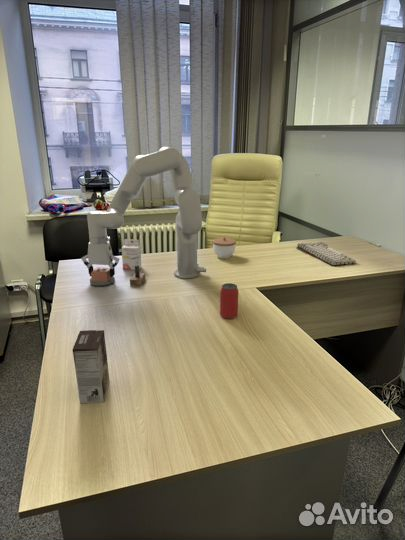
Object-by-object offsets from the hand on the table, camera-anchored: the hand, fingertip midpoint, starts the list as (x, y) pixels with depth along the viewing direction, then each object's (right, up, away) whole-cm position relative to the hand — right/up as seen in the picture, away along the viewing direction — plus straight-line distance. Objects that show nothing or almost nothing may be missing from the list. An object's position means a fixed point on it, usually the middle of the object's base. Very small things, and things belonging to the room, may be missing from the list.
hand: (102, 275), depth 169 cm
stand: (+16, -3, +1) cm, 16 cm away
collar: (0, -2, +1) cm, 2 cm away
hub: (0, -3, +1) cm, 3 cm away
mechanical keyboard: (+115, +10, +41) cm, 123 cm away
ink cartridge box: (+10, +3, +19) cm, 22 cm away
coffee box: (+17, -30, -70) cm, 79 cm away
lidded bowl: (+58, +10, +38) cm, 70 cm away
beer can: (+56, -15, -29) cm, 65 cm away
